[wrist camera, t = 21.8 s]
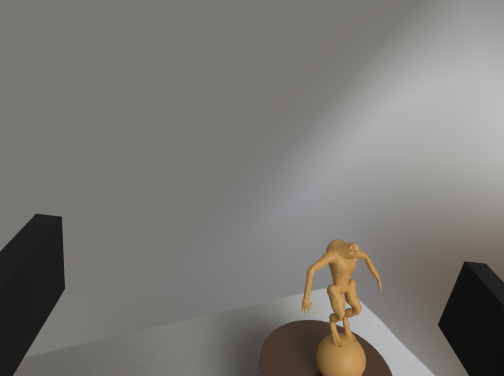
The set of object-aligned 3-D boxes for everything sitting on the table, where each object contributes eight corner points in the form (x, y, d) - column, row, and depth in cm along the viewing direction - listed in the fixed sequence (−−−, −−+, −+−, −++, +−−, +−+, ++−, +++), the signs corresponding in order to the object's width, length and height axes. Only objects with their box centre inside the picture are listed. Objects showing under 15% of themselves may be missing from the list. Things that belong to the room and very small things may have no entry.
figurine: (311, 413, 31) (347, 284, 27) (268, 356, 36) (293, 237, 31) (387, 377, 36) (430, 260, 31) (340, 330, 40) (371, 222, 35)
